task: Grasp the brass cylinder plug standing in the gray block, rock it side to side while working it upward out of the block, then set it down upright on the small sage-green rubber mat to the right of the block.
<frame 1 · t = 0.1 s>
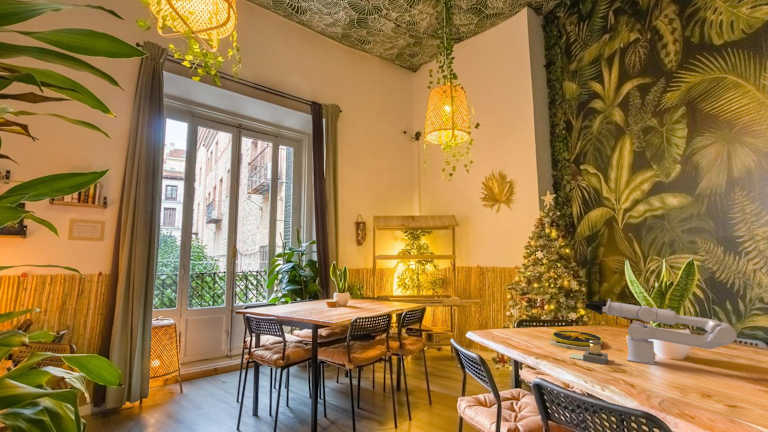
hand: (586, 304, 178), 22 cm above the table, tool horizontal, fingers open, 7 cm apart
gray block: (595, 360, 164), on the table
mat: (577, 357, 168), on the table
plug: (595, 350, 165), in the gray block
wall ornament: (576, 343, 194), on the table
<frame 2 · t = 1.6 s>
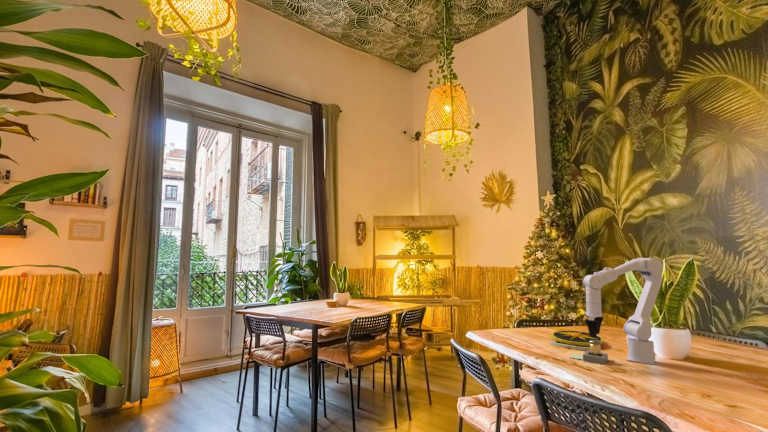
hand: (594, 335, 165), 10 cm above the table, tool pointing down, fingers open, 7 cm apart
nothing on the table moved.
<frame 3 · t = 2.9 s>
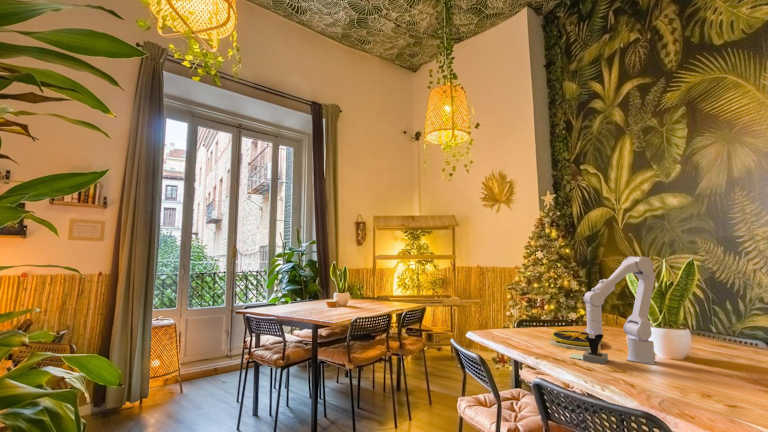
hand: (595, 352, 164), 3 cm above the table, tool pointing down, fingers closed on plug, 4 cm apart
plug: (595, 350, 165), in the gray block, touching gripper
everything else where it was.
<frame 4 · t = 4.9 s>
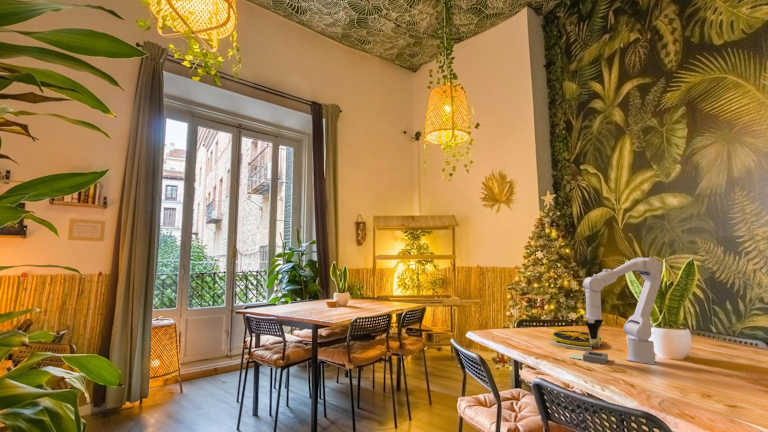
hand: (594, 337, 165), 9 cm above the table, tool pointing down, fingers closed on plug, 4 cm apart
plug: (594, 336, 165), point 10 cm above the table, touching gripper
everything else where it was.
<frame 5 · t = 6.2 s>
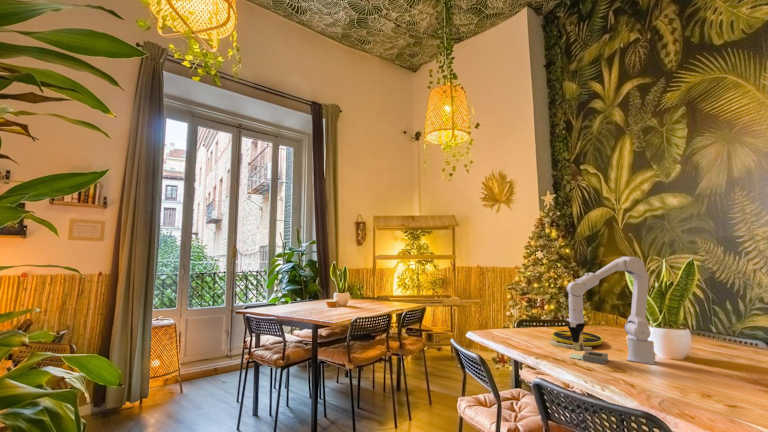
hand: (576, 341, 169), 7 cm above the table, tool pointing down, fingers closed on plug, 4 cm apart
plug: (577, 340, 169), point 7 cm above the table, touching gripper
everything else where it was.
when the fingers open (5 cm above the table, at t = 7.0 s): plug stays where it is, resting on mat.
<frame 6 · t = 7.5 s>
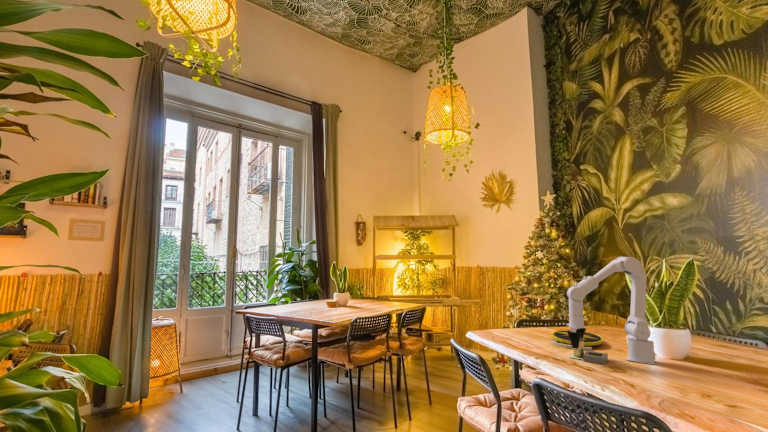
hand: (577, 346, 169), 5 cm above the table, tool pointing down, fingers open, 7 cm apart
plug: (578, 347, 168), on the mat
everything else where it was.
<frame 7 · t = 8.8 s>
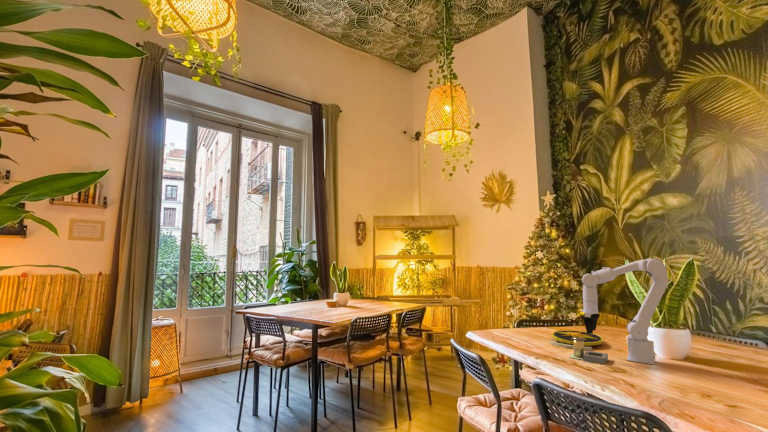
hand: (591, 331, 173), 10 cm above the table, tool pointing down, fingers open, 7 cm apart
nothing on the table moved.
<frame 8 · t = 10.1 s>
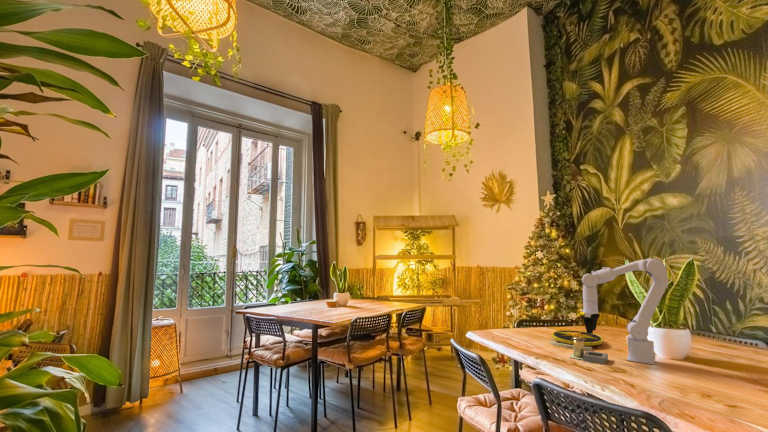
hand: (591, 331, 173), 10 cm above the table, tool pointing down, fingers open, 7 cm apart
nothing on the table moved.
at the end: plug inside the target area on the mat (0.6 cm from its centre), point 4.4 cm above the mat's base; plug tilted 0°; the gripper is holding nothing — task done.
